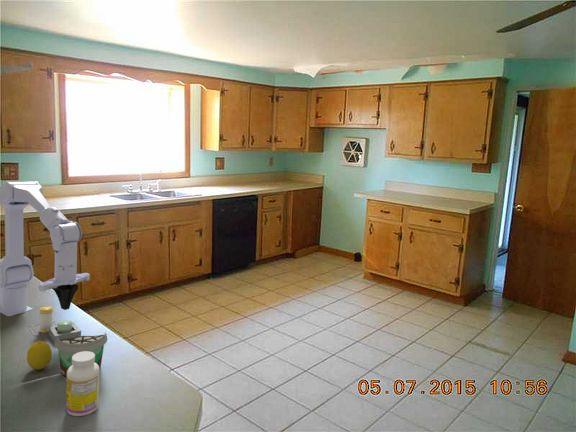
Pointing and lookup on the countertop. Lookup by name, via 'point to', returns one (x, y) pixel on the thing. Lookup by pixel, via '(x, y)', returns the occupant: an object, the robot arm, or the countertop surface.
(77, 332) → the button housing
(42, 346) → the lemon
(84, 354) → the supplement bottle
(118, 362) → the countertop surface
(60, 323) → the button
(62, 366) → the food container
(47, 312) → the two-tone rounded cylinder
